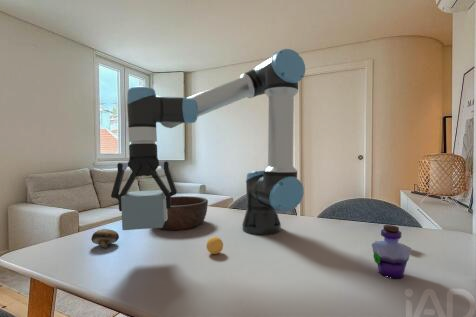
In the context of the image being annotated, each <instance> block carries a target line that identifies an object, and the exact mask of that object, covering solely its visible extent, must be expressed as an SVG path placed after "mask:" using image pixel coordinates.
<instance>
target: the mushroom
mask: <svg viewBox="0 0 476 317" xmlns="http://www.w3.org/2000/svg"><path fill="white" fill-rule="evenodd" d="M119 238H120V236H119V233H118V232H117V231H116V230H113V229H107V228H103V229H98V230H96V231H94V232H93V234H92V235H91V239H90V240H91V242H92V243H93V244H95V245H98V246H99V247H102V248H105V249H107V248H109V245H111V244H114V243H116V242H118V241H119Z"/></svg>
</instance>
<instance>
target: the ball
mask: <svg viewBox="0 0 476 317" xmlns="http://www.w3.org/2000/svg"><path fill="white" fill-rule="evenodd" d="M223 248H224V242H223V240H222V239H221V238H220V237H218V236H212V237H209V239H208V240H207V241H206V249H207V251H208V252H209V253H210V254H211V255H218V254H220V253H221V252H222V250H223Z"/></svg>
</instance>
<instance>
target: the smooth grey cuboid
mask: <svg viewBox="0 0 476 317" xmlns="http://www.w3.org/2000/svg"><path fill="white" fill-rule="evenodd" d="M164 197H166V196H165V195H164V193H163V192H162V190H161V189H157V190H135V191H128V192H127V194H126V195H124V196H122V197H121V207H122V211H121V226H122V227H121V228H122V229H121V230H122V231H133V230H145V229H146V230H148V229H159V228H162V227H163V225H164V223H165V221H164V210H163V198H164Z"/></svg>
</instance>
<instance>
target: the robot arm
mask: <svg viewBox="0 0 476 317" xmlns="http://www.w3.org/2000/svg"><path fill="white" fill-rule="evenodd" d="M305 73H306V64H305V62H304V59H303V58H302V56H301V55H300V54H299V53H298V52H297V51H295V49H292V48H283V49H281V50H279V51H276V52H274V53H273V54H272V55H270V56H269V57H268V58H266V59H265V60H263V61H261V62H260V63H259V64H257V65H255V67H253V68H252V69H250V70H249V71H246V72H244V73H241V75H240V76H239V77H238V78H236V79H233V80H230V81H227V82H225V83H222V84H220V85H219V84H218V85H216V86H213V87H212V88H209V89H207V90H204V91H201V92H198V93H195V94H193V95H191V96H188V97H185V96H184V97H181V96H180V97H179V96H162V95H161V96H159V95H157V93H156V91H155V89H154V88H152V87H149V86H148V87H147V86H142V85H141V86H140V85H139V86H132V87H131V88H130V87H129V89H128V90H127V97H126V98H127V99H126V100H127V101H126V103H127V104H126V105H127V123H128V127H127V128H128V132H127V133H128V142H129V143H130V144H129V145H128V151H129V152H128V155H129V157H128V158H129V160H128V162H118V163H117V165H116V166H117V173H116V177H115V181H114V184H113V188H112V191H111V194H110V198H112V199H116V200H117V201H118V210H119V212H122V207H121V197H122V196H124V195H126V194H127V193H129V192H130V191H129V190H130V189H131V187H132V185H133V184H134V182H135V180H136V179H137V177H152V179H153V180H154V182H156V184H157V186H158V187H159V190H162V192H163V193H164V195H165V196H166V197H164V198H163V210H164V221H167V219H168V216H167V209H168V208H170V207H171V197H174V196H176V194H177V193H178V190H177V187H176V185H175V183H174V179H173V177H172V173H171V171H170V162H169V161H168V160H167V161H159V158H158V145H157V142H158V138H157V137H158V136H157V134H158V133H157V123H160V124H161V125H162V127H164V128H168V129H172V128H175V127H177V126H180V125H181V124H194V123H196V122H197V121H198V118H199V117H200V116H203V115H205V114H208V113H211V112H213V111H215V110H218V109H220V108H223V107H226V106H228V105H231V104H233V103H235V102H238V101H241V100H242V99H245V98H248V99H252V98H255V97H258V96H261V95H266V96H267V97H268V124H267V125H268V126H267V127H268V128H267V130H268V134H267V136H268V137H267V140H268V141H267V165H266V167H265V168H264V169H263V170H258V171H257V170H255V171H249V172H247V173H246V178H245V179H246V180H245V183H246V184H245V185H246V210H245V211H246V212H245V214H244V218H243V221H242V226H241V227H242V231H244V232H246V233H248V234H254V235H273V234H277V233H279V232H281V231H282V230H281V229H282V227H281V226H282V225H281V221H280V218H279V214H278V211H283V212H289V211H292V210H295V209H296V208H297V207H298V205H300V203H302V200H303V199H304V194H305V193H304V192H305V190H304V185H303V183H302V182H301V180H300V179H298V170H297V169H296V168H295V167H294V107H295V106H294V100H295V99H294V98H295V96H296V94H298V93H299V82H300V81H302V79H303V78H304V76H305V75H306V74H305ZM159 166H160V167H161V169H162V170H163V172H164V175H165V178H166V181H167V183H168V186H169V188H170V190H169V189H168V187H167V186H166V185H165V183H164V181H163V179H162V178H161V177H160V175H159V173H158V172H157V171H156V170H157V169H158V168H159ZM128 168H129V169H130V171H131V173H130V175H129V178H128V180H127V181H126V183H125V184H124V186H123V187H122V189H121V186H122V181H123V178H124V175H125V171H126V170H128ZM120 189H121V190H120Z"/></svg>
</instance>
